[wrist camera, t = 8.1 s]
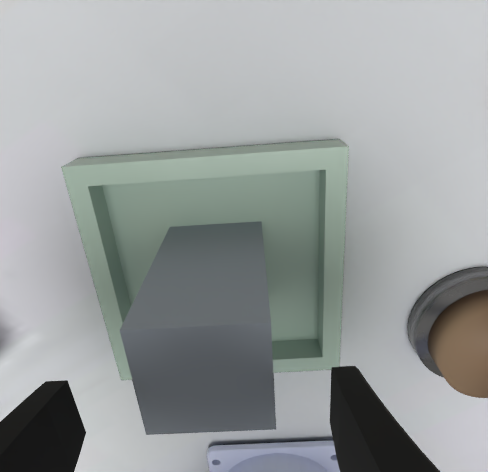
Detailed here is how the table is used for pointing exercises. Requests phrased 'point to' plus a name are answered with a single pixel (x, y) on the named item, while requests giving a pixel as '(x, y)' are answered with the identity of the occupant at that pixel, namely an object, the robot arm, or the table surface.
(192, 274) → the block
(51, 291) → the table surface
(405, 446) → the robot arm
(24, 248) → the table surface
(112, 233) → the tray
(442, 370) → the crank
